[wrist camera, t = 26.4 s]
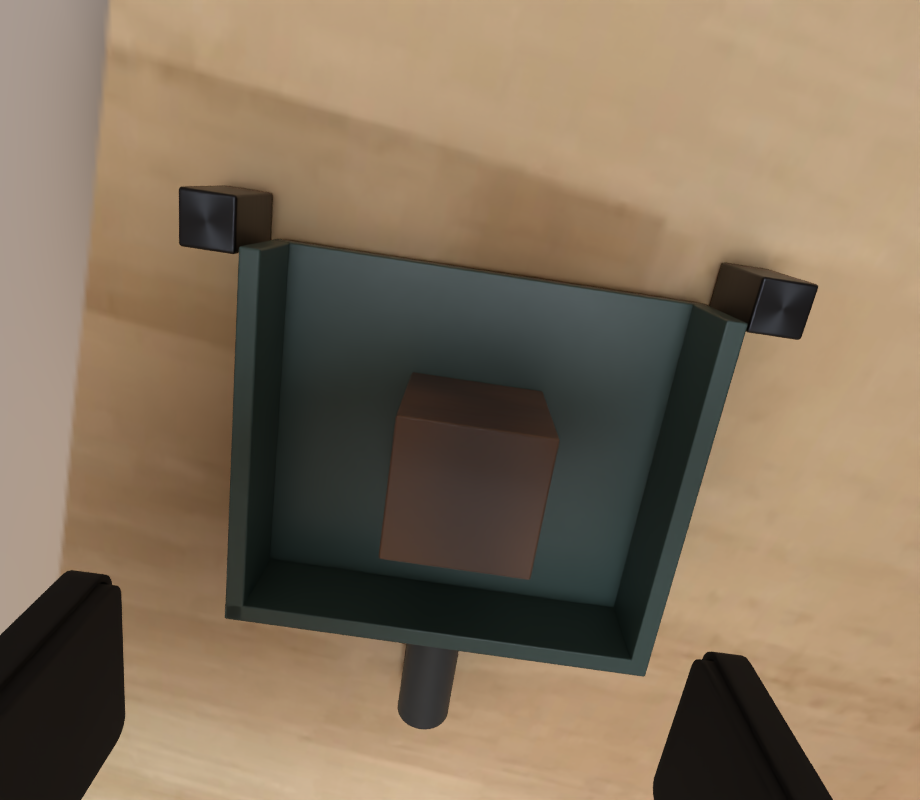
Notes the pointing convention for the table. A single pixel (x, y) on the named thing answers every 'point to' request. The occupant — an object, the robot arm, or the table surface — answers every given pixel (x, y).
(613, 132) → the table surface
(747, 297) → the pair of dark blocks
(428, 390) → the block
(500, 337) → the dustpan
